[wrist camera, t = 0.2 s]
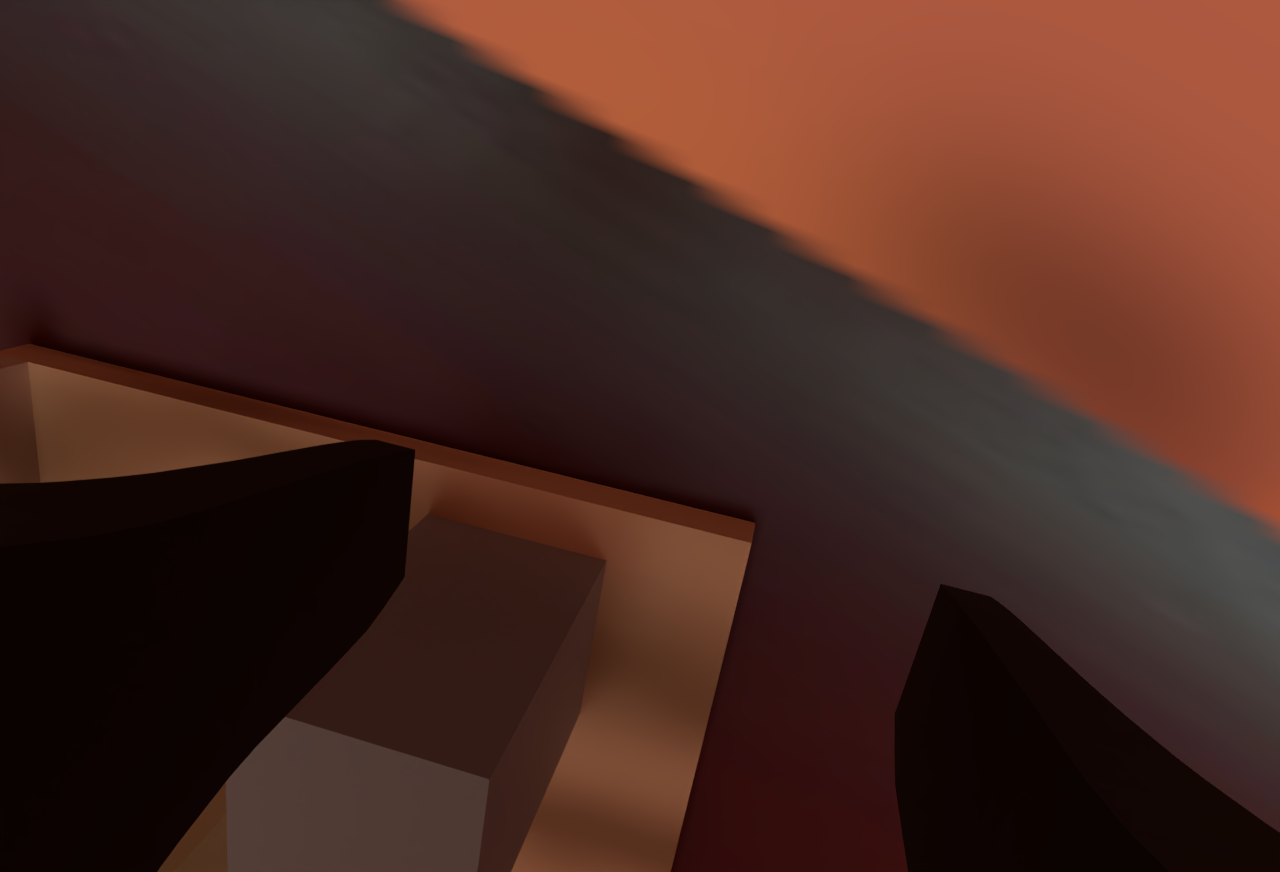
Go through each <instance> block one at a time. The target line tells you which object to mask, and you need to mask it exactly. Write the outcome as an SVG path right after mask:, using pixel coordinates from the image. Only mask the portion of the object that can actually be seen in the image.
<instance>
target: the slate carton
mask: <svg viewBox="0 0 1280 872" xmlns="http://www.w3.org/2000/svg"><path fill="white" fill-rule="evenodd" d="M606 561H607V560H603V559H599V558H595V557H591V556H588V555H584V554H580V553H576V552H572V551H568V550H565V549H561V548H557V547H553V546H549V545H545V544H541V543H538V542H534V541H530V540H526V539H522V538H518V537H515V536H511V535H507V534H503V533H499V532H495V531H491V530H488V529H484V528H480V527H476V526H472V525H468V524H465V523H461V522H457V521H453V520H449V519H445V518H441V517H438V516H434V515H430V514H427V515H426V516H425V517H424V518H423V519H422V520H421V521H419V522H418V523H417V524H416V525H415V526H414V527H413V528H412V529H411V530H410V531H409V532H408V544H407V555H406V567H405V577H404V579H403V580H402V582H401V583H400V585H399V586H398V588H397V589H396V591H395V592H394V594H393V595H392V597H391V598H390V600H389V601H388V602H387V604H386V605H385V607H384V608H383V610H382V611H381V612H380V614H379V615H378V616H377V618H376V619H375V621H374V622H373V623H372V625H371V626H370V627H369V629H368V630H367V631H366V632H365V633H364V634H363V636H362V637H361V638H360V639H359V640H358V641H357V642H356V643H355V644H354V645H353V646H352V647H351V649H350V650H349V651H348V652H347V653H346V654H345V655H344V656H343V657H342V658H341V659H340V660H339V661H338V662H337V663H336V664H335V666H334V667H333V668H332V669H331V670H330V671H329V672H328V673H327V674H326V675H325V676H324V677H323V678H322V679H321V680H320V681H319V682H318V683H317V684H316V685H315V686H314V687H313V688H312V689H311V691H310V692H309V693H308V694H307V695H306V696H305V697H304V698H303V699H302V700H301V701H300V702H299V703H298V704H297V705H296V706H295V707H294V708H293V709H292V710H291V711H290V712H289V713H288V714H287V715H286V716H285V717H284V719H283V720H282V721H281V722H280V723H279V724H278V725H277V726H276V727H275V728H274V729H273V730H272V731H271V732H270V733H269V734H268V735H267V736H266V737H265V738H264V739H263V740H262V741H261V742H260V743H259V744H258V746H257V747H256V748H255V749H254V750H253V751H252V752H251V753H250V755H249V756H248V757H247V758H246V759H245V760H244V761H243V762H242V764H241V765H240V766H239V767H238V768H237V769H236V770H235V771H234V773H233V774H232V775H231V776H230V777H229V779H228V780H227V781H226V819H227V872H511V871H512V868H513V866H514V864H515V861H516V859H517V857H518V855H519V852H520V850H521V848H522V845H523V843H524V841H525V838H526V836H527V834H528V832H529V829H530V827H531V825H532V822H533V820H534V818H535V816H536V813H537V811H538V809H539V806H540V804H541V802H542V799H543V797H544V795H545V793H546V790H547V788H548V786H549V783H550V781H551V779H552V777H553V774H554V772H555V770H556V767H557V765H558V763H559V760H560V758H561V756H562V754H563V751H564V749H565V747H566V744H567V742H568V740H569V738H570V735H571V733H572V731H573V728H574V726H575V724H576V721H577V719H578V717H579V715H580V709H581V704H582V698H583V692H584V686H585V681H586V675H587V669H588V664H589V658H590V652H591V647H592V641H593V635H594V629H595V624H596V618H597V612H598V607H599V601H600V595H601V590H602V584H603V578H604V572H605V567H606Z"/></svg>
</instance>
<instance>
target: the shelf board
mask: <svg viewBox="0 0 1280 872" xmlns="http://www.w3.org/2000/svg"><path fill="white" fill-rule="evenodd" d="M353 440H379V441H383V442H387V443H391V444H395V445H399V446H403V447H407V448H411V449H415V461H414V473H413V485H412V496H411V508H410V520H409V531H410V530H411V529H412V528H413V527H414V526H415V525H416V524H417V523H418V522H419V521H421V520H422V519H423V518H424V517H425V516H426V515H427V514H430V515H434V516H438V517H441V518H445V519H449V520H453V521H457V522H461V523H465V524H468V525H472V526H476V527H480V528H484V529H488V530H491V531H495V532H499V533H503V534H507V535H511V536H515V537H518V538H522V539H526V540H530V541H534V542H538V543H541V544H545V545H549V546H553V547H557V548H561V549H565V550H568V551H572V552H576V553H580V554H584V555H588V556H591V557H595V558H599V559H603V560H607V561H606V567H605V572H604V578H603V584H602V590H601V595H600V601H599V607H598V612H597V618H596V624H595V629H594V635H593V641H592V647H591V652H590V658H589V664H588V669H587V675H586V681H585V686H584V692H583V698H582V704H581V709H580V715H579V717H578V719H577V721H576V724H575V726H574V728H573V731H572V733H571V735H570V738H569V740H568V742H567V744H566V747H565V749H564V751H563V754H562V756H561V758H560V760H559V763H558V765H557V767H556V770H555V772H554V774H553V777H552V779H551V781H550V783H549V786H548V788H547V790H546V793H545V795H544V797H543V799H542V802H541V804H540V806H539V809H538V811H537V813H536V816H535V818H534V820H533V822H532V825H531V827H530V829H529V832H528V834H527V836H526V838H525V841H524V843H523V845H522V848H521V850H520V852H519V855H518V857H517V859H516V861H515V864H514V866H513V868H512V871H511V872H671V868H672V864H673V860H674V856H675V852H676V848H677V844H678V840H679V836H680V832H681V828H682V824H683V820H684V816H685V811H686V807H687V803H688V799H689V795H690V791H691V787H692V783H693V779H694V775H695V771H696V767H697V763H698V759H699V755H700V751H701V747H702V743H703V739H704V734H705V730H706V726H707V722H708V718H709V714H710V710H711V706H712V702H713V698H714V694H715V690H716V686H717V682H718V678H719V674H720V670H721V666H722V661H723V657H724V653H725V649H726V645H727V641H728V637H729V633H730V629H731V625H732V621H733V617H734V613H735V609H736V605H737V601H738V597H739V593H740V589H741V584H742V580H743V576H744V572H745V568H746V564H747V560H748V556H749V552H750V548H751V544H752V539H753V533H754V528H755V523H754V522H750V521H746V520H742V519H738V518H734V517H730V516H726V515H721V514H717V513H713V512H709V511H705V510H701V509H697V508H693V507H689V506H685V505H681V504H677V503H673V502H669V501H665V500H661V499H657V498H653V497H649V496H645V495H640V494H636V493H632V492H628V491H624V490H620V489H616V488H612V487H608V486H604V485H600V484H596V483H592V482H588V481H584V480H580V479H576V478H572V477H568V476H563V475H559V474H555V473H551V472H547V471H543V470H539V469H535V468H531V467H527V466H523V465H519V464H515V463H511V462H507V461H503V460H499V459H495V458H491V457H487V456H482V455H478V454H474V453H470V452H466V451H462V450H458V449H454V448H450V447H446V446H442V445H438V444H434V443H430V442H426V441H422V440H418V439H414V438H410V437H405V436H401V435H397V434H393V433H389V432H385V431H381V430H377V429H373V428H369V427H365V426H361V425H357V424H353V423H349V422H345V421H341V420H337V419H333V418H329V417H324V416H320V415H316V414H312V413H308V412H304V411H300V410H296V409H292V408H288V407H284V406H280V405H276V404H272V403H268V402H264V401H260V400H256V399H252V398H248V397H243V396H239V395H235V394H231V393H227V392H223V391H219V390H215V389H211V388H207V387H203V386H199V385H195V384H191V383H187V382H183V381H179V380H175V379H171V378H166V377H162V376H158V375H154V374H150V373H146V372H142V371H138V370H134V369H130V368H126V367H122V366H118V365H114V364H110V363H106V362H102V361H98V360H94V359H90V358H85V357H81V356H77V355H73V354H69V353H65V352H61V351H57V350H53V349H49V348H45V347H41V346H37V345H33V344H26V345H22V346H18V347H14V348H9V349H5V350H1V351H0V484H2V483H42V482H60V481H73V480H85V479H98V478H111V477H120V476H130V475H139V474H147V473H155V472H162V471H169V470H175V469H182V468H188V467H195V466H201V465H208V464H214V463H221V462H228V461H234V460H240V459H246V458H251V457H257V456H262V455H268V454H273V453H279V452H284V451H290V450H295V449H301V448H306V447H312V446H318V445H324V444H330V443H337V442H344V441H353Z"/></svg>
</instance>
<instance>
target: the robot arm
mask: <svg viewBox="0 0 1280 872" xmlns="http://www.w3.org/2000/svg"><path fill="white" fill-rule="evenodd" d="M414 461H415V449H411V448H407V447H403V446H399V445H395V444H391V443H387V442H383V441H379V440H353V441H344V442H337V443H330V444H324V445H318V446H312V447H306V448H301V449H295V450H290V451H284V452H279V453H273V454H268V455H262V456H257V457H251V458H246V459H240V460H234V461H228V462H221V463H214V464H208V465H201V466H195V467H188V468H182V469H175V470H169V471H162V472H155V473H147V474H139V475H130V476H120V477H111V478H98V479H85V480H73V481H60V482H42V483H2V484H0V872H157V871H158V870H159V869H160V867H161V866H162V865H163V863H164V862H165V860H166V859H167V858H168V856H169V855H170V854H171V852H172V851H173V850H174V848H175V847H176V846H177V844H178V843H179V841H180V840H181V839H182V838H183V836H184V835H185V834H186V832H187V831H188V830H189V829H190V827H191V826H192V825H193V824H194V822H195V821H196V820H197V818H198V817H199V816H200V815H201V813H202V812H203V811H204V809H205V808H206V807H207V806H208V804H209V803H210V802H211V800H212V799H213V798H214V797H215V795H216V794H217V793H218V791H219V790H220V789H221V788H222V786H223V785H224V784H225V782H226V781H227V780H228V779H229V777H230V776H231V775H232V774H233V773H234V771H235V770H236V769H237V768H238V767H239V766H240V765H241V764H242V762H243V761H244V760H245V759H246V758H247V757H248V756H249V755H250V753H251V752H252V751H253V750H254V749H255V748H256V747H257V746H258V744H259V743H260V742H261V741H262V740H263V739H264V738H265V737H266V736H267V735H268V734H269V733H270V732H271V731H272V730H273V729H274V728H275V727H276V726H277V725H278V724H279V723H280V722H281V721H282V720H283V719H284V717H285V716H286V715H287V714H288V713H289V712H290V711H291V710H292V709H293V708H294V707H295V706H296V705H297V704H298V703H299V702H300V701H301V700H302V699H303V698H304V697H305V696H306V695H307V694H308V693H309V692H310V691H311V689H312V688H313V687H314V686H315V685H316V684H317V683H318V682H319V681H320V680H321V679H322V678H323V677H324V676H325V675H326V674H327V673H328V672H329V671H330V670H331V669H332V668H333V667H334V666H335V664H336V663H337V662H338V661H339V660H340V659H341V658H342V657H343V656H344V655H345V654H346V653H347V652H348V651H349V650H350V649H351V647H352V646H353V645H354V644H355V643H356V642H357V641H358V640H359V639H360V638H361V637H362V636H363V634H364V633H365V632H366V631H367V630H368V629H369V627H370V626H371V625H372V623H373V622H374V621H375V619H376V618H377V616H378V615H379V614H380V612H381V611H382V610H383V608H384V607H385V605H386V604H387V602H388V601H389V600H390V598H391V597H392V595H393V594H394V592H395V591H396V589H397V588H398V586H399V585H400V583H401V582H402V580H403V579H404V577H405V567H406V555H407V544H408V532H409V520H410V508H411V496H412V485H413V473H414ZM895 785H896V792H897V800H898V807H899V814H900V820H901V827H902V834H903V841H904V847H905V854H906V860H907V866H908V872H1280V833H1279V832H1278V831H1276V830H1275V829H1273V828H1272V827H1270V826H1269V825H1267V824H1266V823H1265V822H1263V821H1262V820H1260V819H1259V818H1258V817H1256V816H1255V815H1253V814H1252V813H1251V812H1249V811H1248V810H1247V809H1245V808H1244V807H1242V806H1241V805H1240V804H1238V803H1237V802H1235V801H1234V800H1233V799H1231V798H1230V797H1228V796H1227V795H1226V794H1224V793H1223V792H1222V791H1220V790H1219V789H1217V788H1216V787H1215V786H1213V785H1212V784H1210V783H1209V782H1208V781H1206V780H1205V779H1204V778H1202V777H1201V776H1200V775H1198V774H1197V773H1196V772H1194V771H1193V770H1192V769H1190V768H1189V767H1188V766H1187V765H1185V764H1184V763H1183V762H1181V761H1180V760H1179V759H1178V758H1176V757H1175V756H1174V755H1172V754H1171V753H1170V752H1169V751H1168V750H1166V749H1165V748H1164V747H1163V746H1162V745H1160V744H1159V743H1158V742H1157V741H1156V740H1154V739H1153V738H1152V737H1151V736H1149V735H1148V734H1147V733H1146V732H1145V731H1143V730H1142V729H1141V728H1140V727H1139V726H1137V725H1136V724H1135V723H1134V722H1132V721H1131V720H1130V719H1129V718H1128V717H1126V716H1125V715H1124V714H1123V713H1122V712H1121V711H1120V710H1118V709H1117V708H1116V707H1115V706H1114V705H1113V704H1112V703H1110V702H1109V701H1108V700H1107V699H1106V698H1105V697H1104V696H1102V695H1101V694H1100V693H1099V692H1098V691H1097V690H1096V689H1095V688H1093V687H1092V686H1091V685H1090V684H1089V683H1088V682H1087V681H1086V680H1085V679H1083V678H1082V677H1081V676H1080V675H1079V674H1078V673H1077V672H1076V671H1075V670H1074V669H1073V668H1071V667H1070V666H1069V665H1068V664H1067V663H1066V662H1065V661H1064V660H1063V659H1062V658H1061V657H1060V656H1058V655H1057V654H1056V653H1055V652H1054V651H1053V650H1052V649H1051V648H1050V647H1049V646H1048V645H1047V644H1045V643H1044V642H1043V641H1042V640H1041V639H1040V638H1039V637H1038V636H1037V635H1036V634H1035V633H1034V632H1033V631H1031V630H1030V629H1029V628H1028V627H1027V626H1026V625H1025V624H1024V623H1023V622H1021V621H1020V620H1019V619H1018V618H1017V617H1016V616H1015V615H1014V614H1012V613H1011V612H1010V611H1009V610H1008V609H1006V608H1005V607H1004V606H1003V605H1001V604H1000V603H999V602H997V601H996V600H994V599H993V598H992V597H990V596H986V595H982V594H978V593H974V592H970V591H966V590H962V589H958V588H954V587H951V586H947V585H943V584H941V585H940V588H939V591H938V594H937V597H936V599H935V602H934V605H933V608H932V611H931V613H930V616H929V619H928V622H927V625H926V628H925V630H924V633H923V636H922V639H921V642H920V644H919V647H918V650H917V653H916V656H915V659H914V661H913V664H912V667H911V670H910V673H909V675H908V678H907V681H906V684H905V687H904V690H903V692H902V695H901V698H900V701H899V704H898V706H897V709H896V712H895Z"/></svg>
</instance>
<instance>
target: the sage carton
mask: <svg viewBox="0 0 1280 872" xmlns="http://www.w3.org/2000/svg"><path fill="white" fill-rule="evenodd" d="M157 872H227V819H226V782H225V784H224V785H223V786H222V788H221V789H220V790H219V791H218V793H217V794H216V795H215V797H214V798H213V799H212V800H211V802H210V803H209V804H208V806H207V807H206V808H205V809H204V811H203V812H202V813H201V815H200V816H199V817H198V818H197V820H196V821H195V822H194V824H193V825H192V826H191V827H190V829H189V830H188V831H187V832H186V834H185V835H184V836H183V838H182V839H181V840H180V841H179V843H178V844H177V846H176V847H175V848H174V850H173V851H172V852H171V854H170V855H169V856H168V858H167V859H166V860H165V862H164V863H163V865H162V866H161V867H160V869H159V870H158V871H157Z"/></svg>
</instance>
